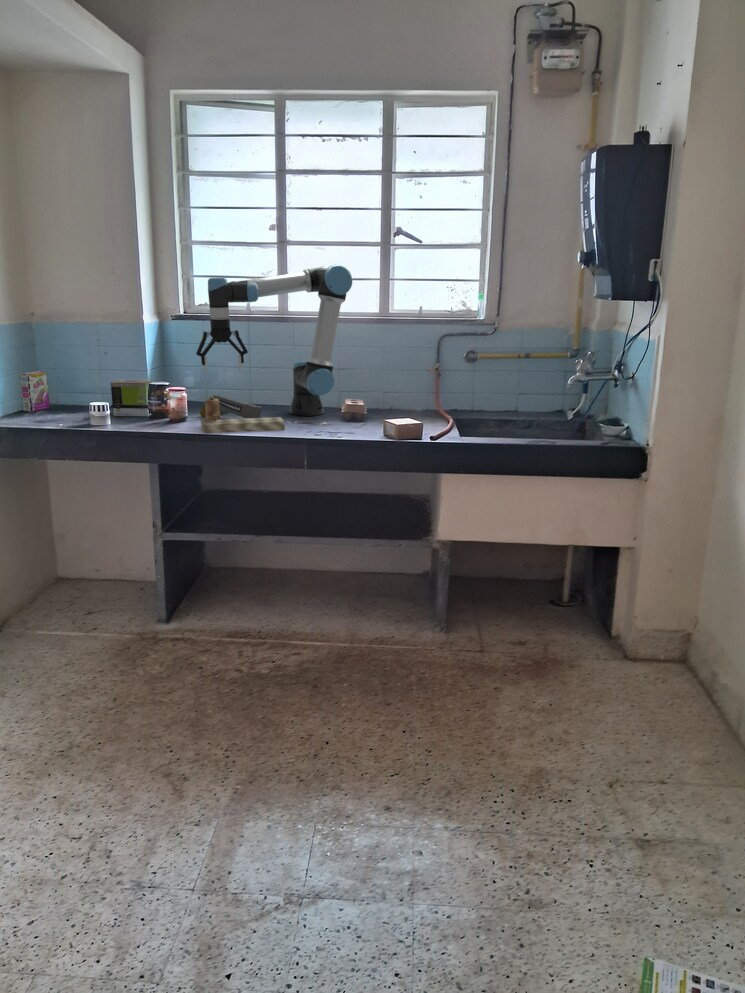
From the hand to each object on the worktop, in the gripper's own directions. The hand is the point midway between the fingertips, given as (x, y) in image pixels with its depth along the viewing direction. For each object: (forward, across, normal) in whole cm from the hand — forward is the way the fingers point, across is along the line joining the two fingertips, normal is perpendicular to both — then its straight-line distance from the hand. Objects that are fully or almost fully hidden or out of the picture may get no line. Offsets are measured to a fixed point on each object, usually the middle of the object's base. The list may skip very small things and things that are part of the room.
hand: (223, 372), depth 295 cm
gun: (+22, -4, -11) cm, 25 cm away
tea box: (+20, +36, -29) cm, 50 cm away
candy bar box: (+19, +76, -48) cm, 92 cm away
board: (+21, -5, +12) cm, 25 cm away
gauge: (+21, +6, +7) cm, 23 cm away
